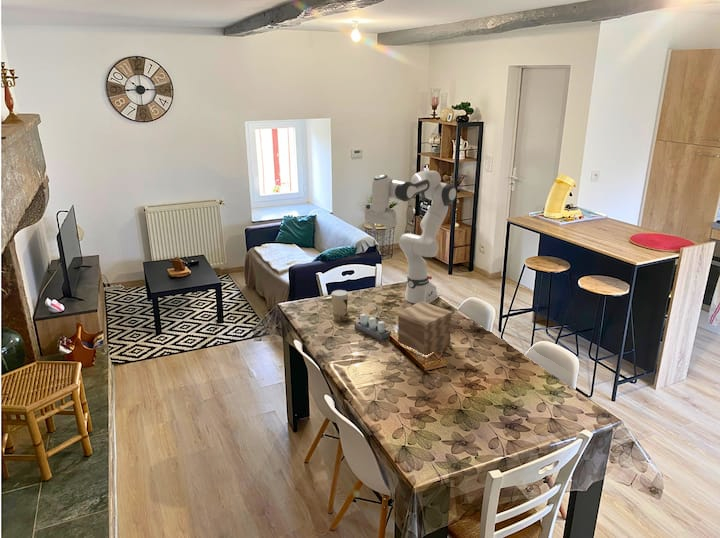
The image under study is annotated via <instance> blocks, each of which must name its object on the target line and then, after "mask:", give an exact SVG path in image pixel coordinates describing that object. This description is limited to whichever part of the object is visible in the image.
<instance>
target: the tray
mask: <svg viewBox="0 0 720 538" xmlns="http://www.w3.org/2000/svg"><path fill="white" fill-rule="evenodd" d="M359 316H360V317H359V321H357V322H355V323H354V330H356V331H359V332H360V333H363V334H365V335H367V336H370V337H372V338H374V339H376V340H379V341H381V342H383V341H385V340H387V339H389V337H390V335H391V336H392V332H391V330H388V329H387V328H386V323H385V321H383V320H380V321H378V322H377V318H376V317H375V316H374V317H373V316H371V317H369V318H368V314H367V313H360V315H359ZM390 338H391V337H390Z"/></svg>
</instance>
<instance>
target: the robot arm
mask: <svg viewBox="0 0 720 538" xmlns="http://www.w3.org/2000/svg"><path fill="white" fill-rule="evenodd" d="M441 181H442V177H441V175H440V173H439V172H438V171H436V170H432V169H431V170H422V171H418V172H416V173H414V174H413V175H412V177H411V181H403V180H399V179H398V180H397V179H393V178H390V177H389V176H388V175H387V174H378V175H375V176H374V177H373V180H372V183H371V184H372V185H371V194H372V199H371V202H370V203H366V204H365V205H364V208H365V209H364V220H365V222H368V223H370V226H371V231H372V232H376V231H377V226H375V225H380V226H384V227H386V230H384V234H385V235H390V230H392V228H396V227H397V226H398V223H397V222H398V221H397V213H396V211H395V209H392V208H390V199H393V200H399V201H402V202H409V201H410V200H412V198H414V197H415V196H417V195H419V194H420V195H421V197H422V198H423V199H425V200H430V201H432V202H431V205H430V206H429V208H428V209H427V210H426V212H425V214H424V216H423V217H422V219H421V221H420V223H419V225H420V229H421V230H422V233H421V234H420V235H418V234H414V233H403V234H402V235H401V236H400V237H399V239H398V246H399V249H401V251H402V252H403V253H404V256H405V257H406V261H407V270H408V271H407V274H408V275H407V278H406V279H407V280H406V281H407V283H406V290H405V293H404V300H405V301H407V302H408V303H410V304H416V303H419V302H421V301H423V302H426V303H429V304H431V303H432V302H434V301H436V299H438V298H439V297H441V293H440V292H438V291H437V285H435V284H434V283H432V282H430V281H431V280H432V279H433V276H432V275H428V262H426V260H425V259H424V258H434V257H435V256H437V254H438V252H439V247H440V246H439V243H438V241H437V235H438V232H439V230H440V228H441V226H442V224H443V222H444V221H445V218H446V216H447V214H448V210H449V206H451V204H452V203H453V202H454V201H455V200H456V197H457V188H456V186H454V185H453V184H450V183H446V182H441ZM423 257H424V258H423Z"/></svg>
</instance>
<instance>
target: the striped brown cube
mask: <svg viewBox="0 0 720 538" xmlns="http://www.w3.org/2000/svg"><path fill="white" fill-rule="evenodd" d="M395 316H398V319H397V320H398V324H397V328H398V329H397V343H398V342H400V343H402V344H404V345H406V346H408V347H411V348H413V349H415V350H417V351H418V352H420V353H422V354H424V355H428V354H430V353H432V352H434V353H436V354H437V353H439V352H442V351H443V350H445V349H447V348H448V347H450V346H451V330H452V316H453V311H451V310H448V309H445V308H443V307H439V306H437V305H433V304H431V303H426V302H423V301H421V302H419V303H413V304H412V305H409V306H407V307H405V308H402V309H400V310H398V311H396V314H395Z"/></svg>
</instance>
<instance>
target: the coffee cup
mask: <svg viewBox="0 0 720 538" xmlns="http://www.w3.org/2000/svg"><path fill="white" fill-rule="evenodd" d="M330 295H331V303H332V312H333V313H332V314H334V315H336V316H344V315H346V314H348V300H349V299H348V296H349V293H348V291H347V290H343V289H336V290H333V291H332V292H331V294H330Z"/></svg>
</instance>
